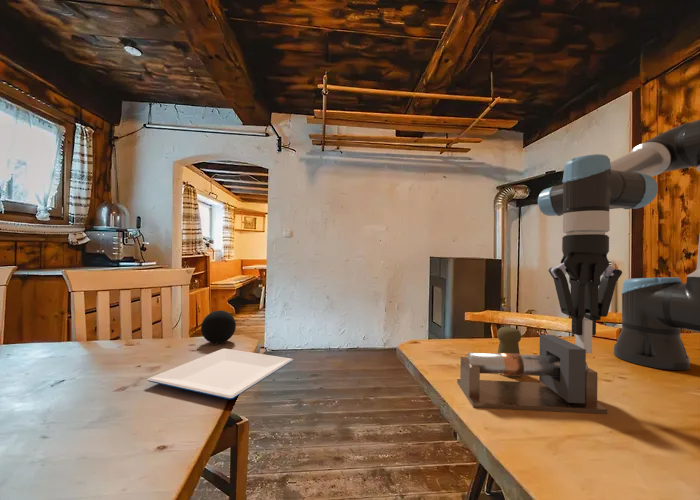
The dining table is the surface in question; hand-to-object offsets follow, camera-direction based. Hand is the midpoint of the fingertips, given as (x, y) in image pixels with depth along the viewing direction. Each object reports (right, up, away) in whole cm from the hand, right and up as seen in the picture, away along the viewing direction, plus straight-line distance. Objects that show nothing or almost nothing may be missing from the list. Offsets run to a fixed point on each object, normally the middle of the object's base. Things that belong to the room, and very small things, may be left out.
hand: (583, 350), depth 62 cm
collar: (-4, -8, 0) cm, 9 cm away
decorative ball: (-88, -9, +34) cm, 95 cm away
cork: (-8, -10, +13) cm, 19 cm away
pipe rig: (-11, -10, +1) cm, 15 cm away
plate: (-76, -9, +9) cm, 77 cm away
